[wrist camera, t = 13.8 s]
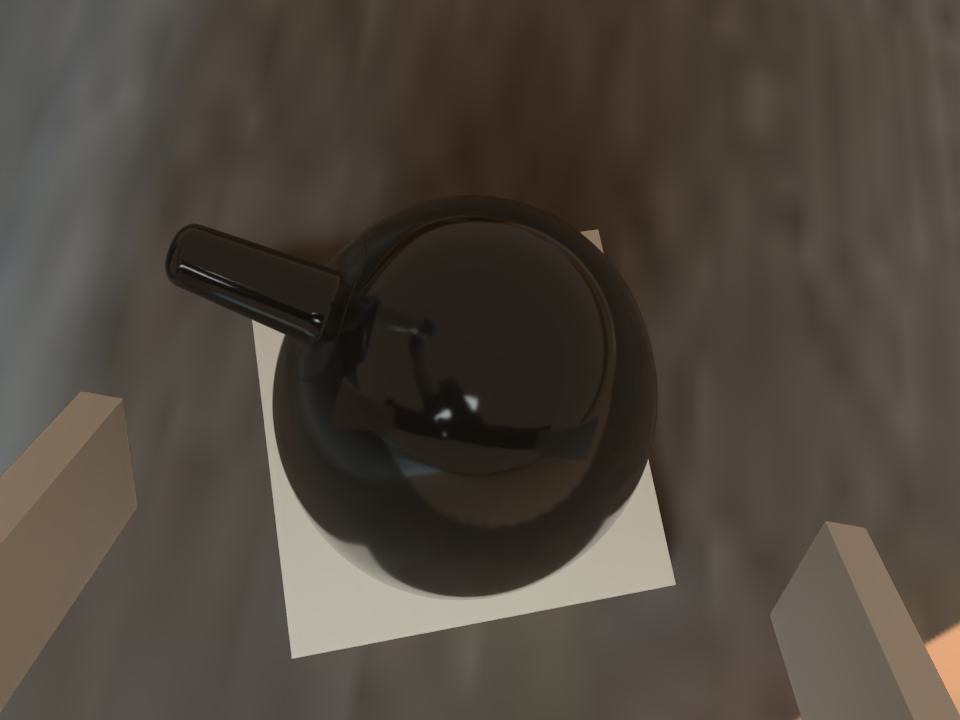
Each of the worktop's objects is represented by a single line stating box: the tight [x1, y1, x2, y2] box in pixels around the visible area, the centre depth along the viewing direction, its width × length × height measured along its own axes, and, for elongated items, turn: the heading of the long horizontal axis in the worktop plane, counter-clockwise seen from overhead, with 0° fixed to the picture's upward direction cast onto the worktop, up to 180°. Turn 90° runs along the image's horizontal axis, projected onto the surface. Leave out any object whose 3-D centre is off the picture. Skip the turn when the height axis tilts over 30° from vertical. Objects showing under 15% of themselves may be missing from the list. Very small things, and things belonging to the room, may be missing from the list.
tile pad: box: [252, 229, 676, 659], centre depth 26 cm, size 13×13×2 cm
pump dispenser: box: [165, 195, 658, 600], centre depth 18 cm, size 10×10×15 cm
